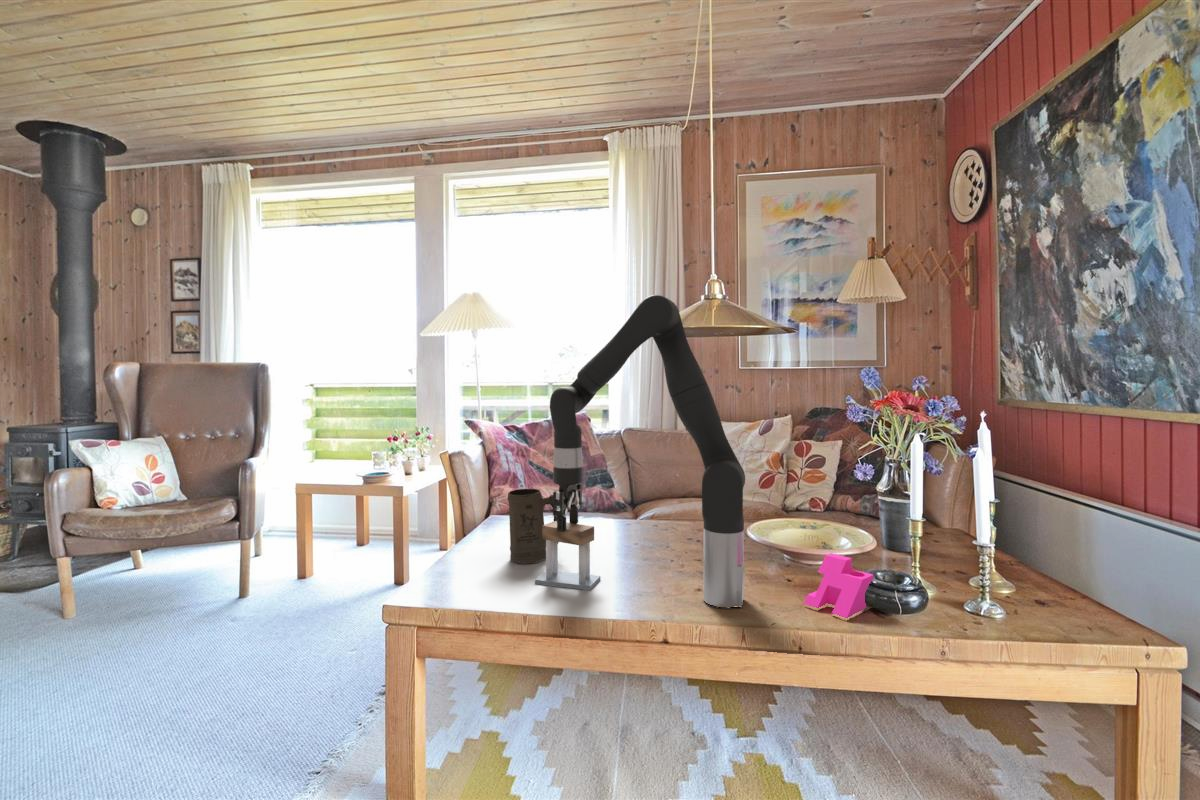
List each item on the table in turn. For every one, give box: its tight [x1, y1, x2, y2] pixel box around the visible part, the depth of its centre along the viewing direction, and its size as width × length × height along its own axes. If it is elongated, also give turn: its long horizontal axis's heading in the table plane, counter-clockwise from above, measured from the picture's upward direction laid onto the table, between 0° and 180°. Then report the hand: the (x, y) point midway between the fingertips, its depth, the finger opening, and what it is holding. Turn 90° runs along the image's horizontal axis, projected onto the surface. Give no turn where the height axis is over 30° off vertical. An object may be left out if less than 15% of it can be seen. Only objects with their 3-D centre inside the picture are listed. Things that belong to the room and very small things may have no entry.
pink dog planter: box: [803, 553, 875, 618], centre depth 131 cm, size 12×10×10 cm
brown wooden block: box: [542, 520, 595, 546], centre depth 147 cm, size 12×6×4 cm, turn 60°
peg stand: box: [534, 540, 601, 591], centre depth 148 cm, size 15×8×11 cm, turn 72°
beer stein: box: [506, 488, 560, 564], centre depth 167 cm, size 15×11×20 cm
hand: (567, 527), depth 147 cm, fingers open, 8 cm apart
